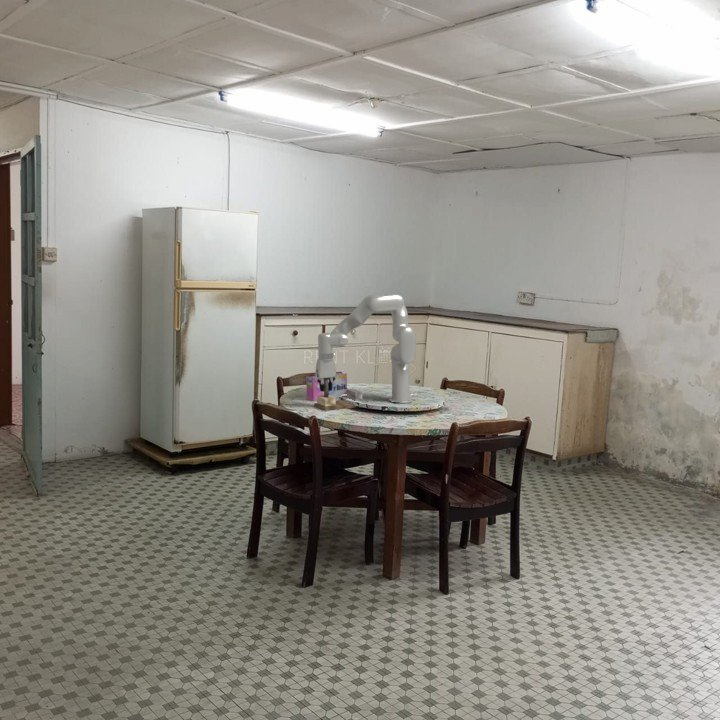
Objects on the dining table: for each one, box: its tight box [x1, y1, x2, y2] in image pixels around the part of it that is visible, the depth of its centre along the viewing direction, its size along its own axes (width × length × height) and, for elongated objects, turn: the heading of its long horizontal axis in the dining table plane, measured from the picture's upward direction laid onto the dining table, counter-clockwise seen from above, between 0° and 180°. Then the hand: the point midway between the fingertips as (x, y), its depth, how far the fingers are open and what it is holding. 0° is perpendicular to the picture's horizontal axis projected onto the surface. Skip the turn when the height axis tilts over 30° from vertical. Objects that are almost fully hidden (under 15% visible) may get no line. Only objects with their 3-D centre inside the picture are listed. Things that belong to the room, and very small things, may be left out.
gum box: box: [305, 371, 348, 402], centre depth 413 cm, size 24×8×14 cm, turn 124°
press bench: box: [313, 388, 363, 412], centre depth 391 cm, size 24×14×8 cm, turn 119°
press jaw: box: [316, 378, 337, 407], centre depth 386 cm, size 6×10×16 cm, turn 29°
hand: (326, 390), depth 386 cm, fingers open, 4 cm apart
